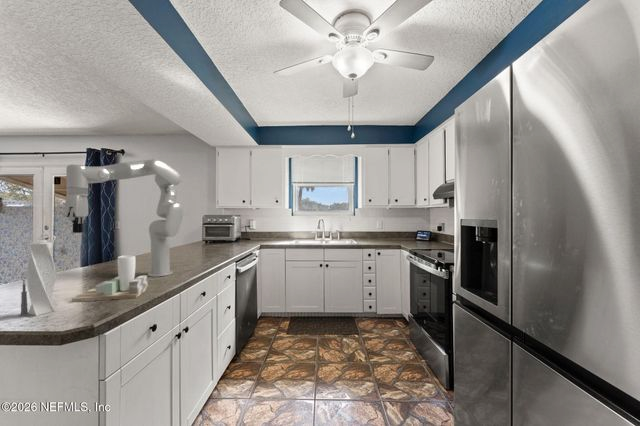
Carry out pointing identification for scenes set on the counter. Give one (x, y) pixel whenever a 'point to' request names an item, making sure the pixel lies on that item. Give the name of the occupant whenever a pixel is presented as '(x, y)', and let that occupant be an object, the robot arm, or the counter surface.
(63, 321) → the counter surface
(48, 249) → the skyscraper
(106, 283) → the sliding jaw
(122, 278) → the drinking glass
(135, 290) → the vise
